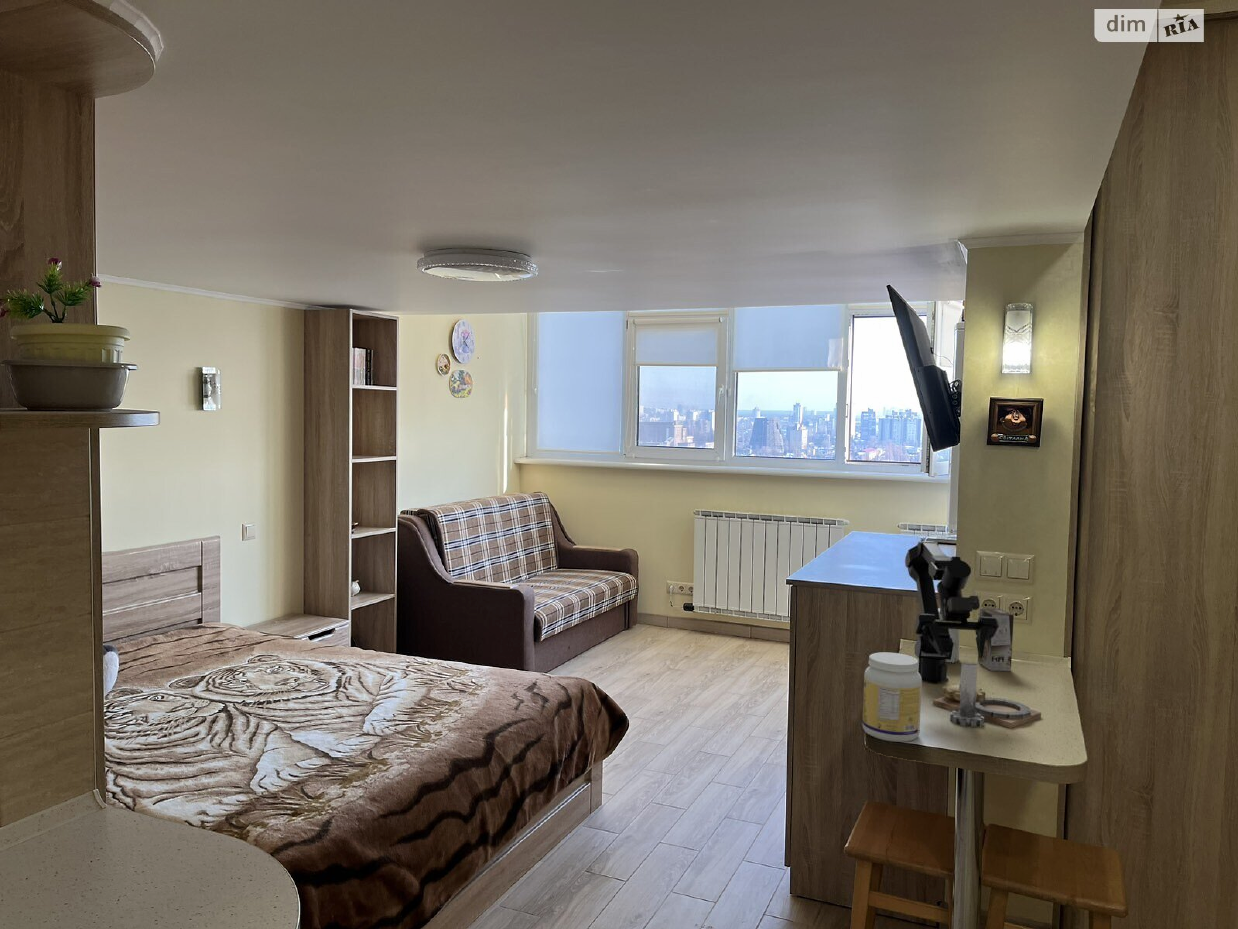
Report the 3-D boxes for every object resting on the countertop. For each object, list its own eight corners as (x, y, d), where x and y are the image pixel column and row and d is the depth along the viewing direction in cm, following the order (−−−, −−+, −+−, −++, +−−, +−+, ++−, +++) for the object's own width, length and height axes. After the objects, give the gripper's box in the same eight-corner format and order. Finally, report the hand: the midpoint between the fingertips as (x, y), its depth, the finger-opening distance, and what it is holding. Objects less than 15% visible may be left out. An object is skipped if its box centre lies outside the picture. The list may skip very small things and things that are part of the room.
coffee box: (1012, 671, 248) (1014, 615, 247) (989, 670, 248) (991, 614, 247) (998, 663, 257) (1001, 608, 256) (976, 662, 257) (979, 607, 257)
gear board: (929, 703, 216) (930, 684, 216) (960, 694, 224) (961, 675, 224) (1010, 728, 199) (1011, 706, 199) (1040, 717, 208) (1041, 697, 207)
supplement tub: (865, 721, 202) (868, 648, 201) (921, 729, 197) (924, 655, 196) (858, 738, 190) (861, 661, 190) (917, 747, 186) (920, 668, 185)
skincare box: (959, 659, 259) (961, 610, 259) (953, 664, 254) (956, 613, 254) (929, 655, 264) (931, 606, 264) (924, 659, 259) (926, 609, 259)
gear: (943, 720, 204) (946, 662, 203) (961, 714, 208) (963, 658, 207) (972, 729, 198) (975, 670, 197) (989, 723, 202) (992, 665, 202)
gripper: (919, 581, 216) (928, 636, 205) (998, 584, 214) (1011, 640, 203) (910, 606, 224) (918, 660, 214) (986, 609, 222) (998, 664, 212)
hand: (961, 656), depth 210 cm, fingers open, 9 cm apart
